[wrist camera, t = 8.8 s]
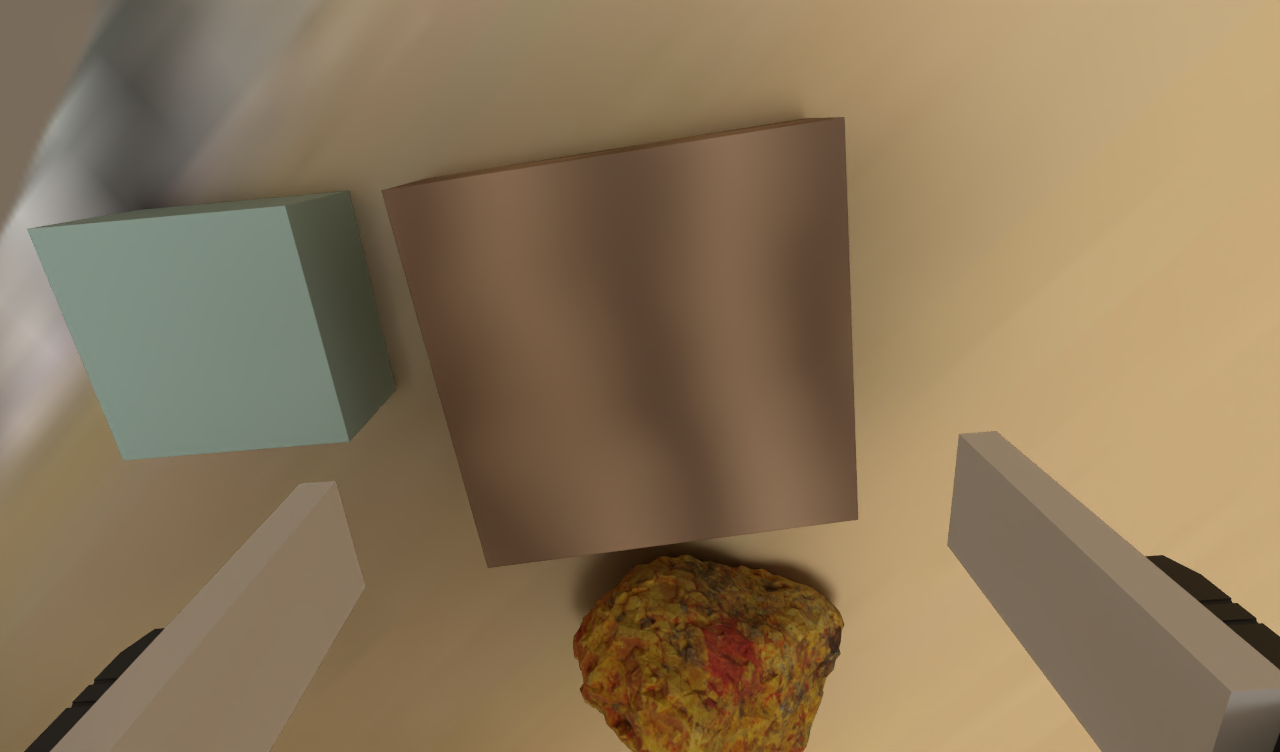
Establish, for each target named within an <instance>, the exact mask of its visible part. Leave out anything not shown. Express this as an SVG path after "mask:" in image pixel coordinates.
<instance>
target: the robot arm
mask: <svg viewBox="0 0 1280 752" xmlns="http://www.w3.org/2000/svg"><path fill="white" fill-rule="evenodd" d="M947 545H948V547H949V548H950V549H951V551H952V552H953V553H954V555H955V556H956V557H957V559H958V560H959V561H960V563H961V564H962V565H963V567H964V568H965V569H966V571H967V572H968V573H969V575H970V576H971V577H972V579H973V580H974V581H975V583H976V584H977V585H978V587H979V588H980V589H981V591H982V592H983V593H984V595H985V596H986V597H987V599H988V600H989V601H990V603H991V604H992V605H993V607H994V608H995V609H996V611H997V612H998V613H999V615H1000V616H1001V617H1002V619H1003V620H1004V621H1005V623H1006V624H1007V625H1008V627H1009V628H1010V629H1011V631H1012V632H1013V633H1014V635H1015V636H1016V637H1017V639H1018V640H1019V641H1020V643H1021V644H1022V645H1023V647H1024V648H1025V650H1026V651H1027V652H1028V654H1029V655H1030V656H1031V658H1032V659H1033V660H1034V662H1035V663H1036V664H1037V666H1038V667H1039V668H1040V670H1041V671H1042V672H1043V674H1044V675H1045V676H1046V678H1047V679H1048V680H1049V682H1050V683H1051V684H1052V686H1053V687H1054V688H1055V690H1056V691H1057V692H1058V694H1059V695H1060V696H1061V698H1062V699H1063V700H1064V702H1065V703H1066V704H1067V706H1068V707H1069V708H1070V710H1071V711H1072V712H1073V714H1074V715H1075V716H1076V718H1077V719H1078V720H1079V722H1080V723H1081V724H1082V726H1083V727H1084V728H1085V730H1086V731H1087V732H1088V734H1089V735H1090V736H1091V738H1092V739H1093V740H1094V742H1095V743H1096V744H1097V746H1098V747H1099V748H1100V750H1101V751H1102V752H1280V637H1279V636H1278V635H1277V634H1276V633H1274V632H1273V631H1272V630H1271V629H1269V628H1268V627H1267V626H1266V625H1264V624H1263V623H1261V624H1258V622H1257V621H1256V618H1255V617H1254V616H1253V615H1252V614H1250V613H1249V612H1248V611H1247V610H1245V609H1244V608H1243V607H1241V606H1240V605H1239V604H1238V603H1232V601H1231V598H1230V597H1229V596H1228V595H1226V594H1225V593H1224V592H1223V591H1221V590H1220V589H1219V588H1217V587H1216V586H1215V585H1214V584H1212V583H1211V582H1210V581H1209V580H1207V579H1206V578H1205V577H1204V576H1202V575H1201V574H1199V573H1197V572H1195V571H1193V570H1191V569H1189V568H1187V567H1185V566H1183V565H1181V564H1179V563H1177V562H1175V561H1173V560H1171V559H1169V558H1167V557H1165V556H1163V555H1159V556H1144V555H1143V554H1141V553H1140V552H1139V551H1138V550H1137V549H1136V548H1134V547H1133V546H1132V545H1131V544H1130V543H1128V542H1127V541H1126V540H1125V539H1124V538H1122V537H1121V536H1120V535H1119V534H1118V533H1117V532H1115V531H1114V530H1113V529H1112V528H1111V527H1109V526H1108V525H1107V524H1106V523H1105V522H1104V521H1102V520H1101V519H1100V518H1099V517H1098V516H1096V515H1095V514H1094V513H1093V512H1092V511H1090V510H1089V509H1088V508H1087V507H1086V506H1085V505H1083V504H1082V503H1081V502H1080V501H1079V500H1077V499H1076V498H1075V497H1074V496H1073V495H1071V494H1070V493H1069V492H1068V491H1067V490H1066V489H1064V488H1063V487H1062V486H1061V485H1060V484H1058V483H1057V482H1056V481H1055V480H1054V479H1052V478H1051V477H1050V476H1049V475H1048V474H1047V473H1045V472H1044V471H1043V470H1042V469H1041V468H1039V467H1038V466H1037V465H1036V464H1035V463H1033V462H1032V461H1031V460H1030V459H1029V458H1028V457H1026V456H1025V455H1024V454H1023V453H1022V452H1020V451H1019V450H1018V449H1017V448H1016V447H1014V446H1013V445H1012V444H1011V443H1010V442H1009V441H1007V440H1006V439H1005V438H1004V437H1003V436H1001V435H1000V434H999V433H998V432H997V431H991V432H978V433H965V434H959V440H958V449H957V459H956V468H955V478H954V487H953V497H952V506H951V516H950V525H949V534H948V544H947ZM364 588H365V584H364V580H363V577H362V573H361V570H360V566H359V563H358V559H357V555H356V552H355V548H354V545H353V541H352V538H351V534H350V530H349V527H348V523H347V520H346V516H345V513H344V509H343V506H342V502H341V498H340V495H339V491H338V488H337V484H336V481H326V482H312V483H300V484H299V485H298V486H297V487H296V488H295V489H294V490H293V491H292V492H291V494H290V495H289V496H288V497H287V498H286V499H285V500H284V501H283V502H282V503H281V504H280V505H279V506H278V507H277V509H276V510H275V511H274V512H273V513H272V514H271V515H270V516H269V517H268V518H267V519H266V520H265V521H264V522H263V524H262V525H261V526H260V527H259V528H258V529H257V530H256V531H255V532H254V533H253V534H252V535H251V536H250V538H249V539H248V540H247V541H246V542H245V543H244V544H243V545H242V546H241V547H240V548H239V549H238V550H237V551H236V553H235V554H234V555H233V556H232V557H231V558H230V559H229V560H228V561H227V562H226V563H225V564H224V565H223V566H222V568H221V569H220V570H219V571H218V572H217V573H216V574H215V575H214V576H213V577H212V578H211V579H210V580H209V582H208V583H207V584H206V585H205V586H204V587H203V588H202V589H201V590H200V591H199V592H198V593H197V594H196V595H195V597H194V598H193V599H192V600H191V601H190V602H189V603H188V604H187V605H186V606H185V607H184V608H183V609H182V611H181V612H180V613H179V614H178V615H177V616H176V617H175V618H174V619H173V620H172V621H171V622H170V623H169V624H168V626H167V627H166V628H161V629H154V630H153V631H151V632H150V633H148V634H147V635H145V636H144V637H142V638H141V639H140V640H138V641H137V642H135V643H134V644H132V645H131V646H129V647H128V648H127V649H125V650H124V651H122V652H121V653H120V654H119V655H118V656H117V657H116V658H115V659H114V660H113V661H112V662H111V663H110V664H109V665H108V666H107V667H106V668H105V669H104V670H103V671H102V672H101V673H100V674H99V675H98V676H97V677H96V678H95V679H94V684H93V685H89V686H88V687H87V688H86V689H85V690H84V691H83V692H82V693H81V694H80V695H79V696H78V697H77V698H76V699H75V700H74V701H73V702H72V703H73V704H72V707H71V708H66V709H65V710H64V711H63V712H62V713H61V714H60V715H59V716H58V717H57V718H56V719H55V720H54V722H53V723H52V724H51V725H50V726H49V727H48V728H47V729H46V730H45V731H44V732H43V733H42V734H41V735H40V736H39V737H38V738H37V739H36V740H35V741H34V742H33V743H32V744H31V745H30V746H29V747H28V748H27V749H26V750H25V751H24V752H270V750H271V749H272V747H273V745H274V743H275V742H276V740H277V738H278V736H279V735H280V733H281V731H282V730H283V728H284V726H285V724H286V723H287V721H288V719H289V718H290V716H291V714H292V712H293V711H294V709H295V707H296V705H297V704H298V702H299V700H300V699H301V697H302V695H303V693H304V692H305V690H306V688H307V687H308V685H309V683H310V681H311V680H312V678H313V676H314V674H315V673H316V671H317V669H318V668H319V666H320V664H321V662H322V661H323V659H324V657H325V656H326V654H327V652H328V650H329V649H330V647H331V645H332V644H333V642H334V640H335V638H336V637H337V635H338V633H339V631H340V630H341V628H342V626H343V625H344V623H345V621H346V619H347V618H348V616H349V614H350V613H351V611H352V609H353V607H354V606H355V604H356V602H357V600H358V599H359V597H360V595H361V594H362V592H363V590H364Z"/></svg>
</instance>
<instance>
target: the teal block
mask: <svg viewBox="0 0 1280 752" xmlns="http://www.w3.org/2000/svg"><path fill="white" fill-rule="evenodd" d="M27 230H28V232H29V235H30V237H31V240H32V242H33V244H34V247H35V249H36V252H37V254H38V256H39V259H40V261H41V264H42V266H43V268H44V271H45V273H46V276H47V278H48V280H49V283H50V285H51V288H52V290H53V292H54V295H55V297H56V300H57V302H58V304H59V307H60V309H61V312H62V314H63V316H64V319H65V321H66V324H67V326H68V328H69V331H70V333H71V336H72V338H73V340H74V343H75V345H76V348H77V350H78V353H79V355H80V357H81V360H82V362H83V365H84V367H85V369H86V372H87V374H88V377H89V379H90V381H91V384H92V386H93V389H94V391H95V393H96V396H97V398H98V401H99V403H100V405H101V408H102V410H103V413H104V415H105V417H106V420H107V422H108V425H109V427H110V429H111V432H112V434H113V437H114V439H115V441H116V444H117V446H118V449H119V451H120V453H121V456H122V458H123V460H134V459H146V458H158V457H170V456H182V455H195V454H207V453H219V452H231V451H243V450H255V449H267V448H280V447H292V446H304V445H316V444H328V443H340V442H350V441H351V439H352V438H353V437H354V436H355V435H356V434H357V433H358V432H359V430H360V429H361V428H362V427H363V426H364V425H365V424H366V423H367V422H368V420H369V419H370V418H371V417H372V416H373V415H374V414H375V413H376V411H377V410H378V409H379V408H380V407H381V406H382V405H383V404H384V402H385V401H386V400H387V399H388V398H389V397H390V396H391V395H392V394H393V392H394V391H395V390H396V388H395V383H394V379H393V375H392V371H391V366H390V362H389V358H388V354H387V349H386V345H385V341H384V337H383V333H382V328H381V324H380V320H379V316H378V311H377V307H376V303H375V299H374V295H373V290H372V286H371V282H370V278H369V273H368V269H367V265H366V261H365V256H364V252H363V248H362V244H361V240H360V235H359V231H358V227H357V223H356V218H355V214H354V210H353V206H352V202H351V197H350V193H349V191H342V192H331V193H320V194H309V195H297V196H286V197H275V198H264V199H253V200H242V201H231V202H220V203H209V204H198V205H187V206H176V207H165V208H154V209H143V210H135V211H129V212H123V213H117V214H111V215H106V216H100V217H94V218H88V219H82V220H77V221H71V222H65V223H59V224H53V225H47V226H42V227H36V228H30V229H27Z"/></svg>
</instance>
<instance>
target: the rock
mask: <svg viewBox="0 0 1280 752" xmlns="http://www.w3.org/2000/svg"><path fill="white" fill-rule="evenodd" d="M843 626H844V622H843V619H842V616H841V614H840V612H839V611H838V609H837V608H836V607H835V606H834V605H833V603H832V602H831V601H830V600H828V599H827V598H825V597H824V596H823V595H821V594H820V593H818V592H817V591H816V590H814V589H813V588H811V587H809V586H807V585H804V584H800V583H795V582H793V581H791V580H788V579H786V578H784V577H781V576H779V575H773V574H771V573H769V572H768V571H766V570H764V569H757V570H753V569H750V568H747V567H745V566H743V565H740V566H738V567H735V568H733V567H730V566H727V565H723V564H718V563H715V562H712V561H706V562H702V561H700V560H698V559H696V558H694V557H692V556H689V555H682V556H678V557H675V558H670V557H667V556H661V557H658V558H657V559H656V560H654V561H652V562H651V563H649V564H640V565H636V566H635V567H632V569H631V572H630V573H628V574H626V575H625V577H624V578H623V579H622V581H621V582H620V583H619V584H618V585H616V586H615V587H614V588H613V589H612V590H610V591H608V592H606V593H605V594H604V597H603V598H601V599H599V600H598V601H596V607H595V608H593V609H590V613H588V614H587V615H586V616H584V617H583V622H582V623H581V626H580V628H579V630H578V631H577V633H576V634H575V636H574V640H573V649H574V657H575V658H576V659H578V661H579V667H580V670H581V671H582V675H583V682H584V684H583V685H582V686H581V688H580V691H581V693H582V696H583V698H584V701H585V703H588V704H590V705H591V706H592V707H593V708H596V709H597V710H598V711H599V712H600V713H602V714H604V717H605V720H606V723H607V725H608V726H609V727H610V728H611V729H612V730H613V731H614V732H615V733H616V735H617V736H618V737H619V739H620V740H621V742H623V743H624V744H625V745H626V746H627V747H628V748H629V749H630V750H632V751H633V752H803V751H804V749H805V748H806V746H807V743H808V740H809V734H810V729H811V726H812V723H813V720H814V718H815V715H816V713H817V710H818V708H819V705H820V703H821V700H822V696H823V688H824V684H825V680H826V677H827V676H828V675H829V674H830V673H831V672H832V671H833V669H834V665H835V660H836V659H837V657H838V656H839V655H840V650H839V646H840V642H841V631H842V629H843Z"/></svg>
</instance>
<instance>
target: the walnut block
mask: <svg viewBox="0 0 1280 752" xmlns="http://www.w3.org/2000/svg"><path fill="white" fill-rule="evenodd" d="M382 194H383V198H384V201H385V205H386V208H387V212H388V215H389V219H390V222H391V226H392V230H393V233H394V237H395V240H396V244H397V247H398V251H399V254H400V258H401V261H402V265H403V269H404V272H405V276H406V279H407V283H408V286H409V290H410V293H411V297H412V300H413V304H414V308H415V311H416V315H417V318H418V322H419V325H420V329H421V332H422V336H423V339H424V343H425V347H426V350H427V354H428V357H429V361H430V364H431V368H432V371H433V375H434V378H435V382H436V385H437V389H438V393H439V396H440V400H441V403H442V407H443V410H444V414H445V417H446V421H447V424H448V428H449V432H450V435H451V439H452V442H453V446H454V449H455V453H456V456H457V460H458V463H459V467H460V471H461V474H462V478H463V481H464V485H465V488H466V492H467V495H468V499H469V502H470V506H471V510H472V513H473V517H474V520H475V524H476V527H477V531H478V534H479V538H480V541H481V545H482V549H483V552H484V556H485V559H486V563H487V566H488V568H491V567H499V566H507V565H514V564H522V563H530V562H537V561H545V560H553V559H560V558H568V557H576V556H583V555H591V554H599V553H606V552H614V551H621V550H629V549H637V548H644V547H652V546H660V545H667V544H675V543H683V542H690V541H698V540H706V539H713V538H721V537H729V536H736V535H744V534H752V533H759V532H767V531H774V530H782V529H790V528H797V527H805V526H813V525H820V524H828V523H836V522H843V521H851V520H858V501H857V472H856V442H855V413H854V384H853V355H852V325H851V296H850V267H849V238H848V208H847V179H846V150H845V120H844V117H838V118H805V119H799V120H793V121H786V122H780V123H774V124H768V125H761V126H755V127H749V128H742V129H736V130H730V131H723V132H717V133H711V134H705V135H698V136H692V137H686V138H679V139H673V140H667V141H660V142H654V143H648V144H642V145H635V146H629V147H623V148H616V149H610V150H604V151H597V152H591V153H585V154H579V155H572V156H566V157H560V158H553V159H547V160H541V161H534V162H528V163H522V164H516V165H509V166H503V167H497V168H490V169H484V170H478V171H471V172H465V173H459V174H453V175H446V176H440V177H434V178H427V179H423V180H420V181H416V182H412V183H408V184H404V185H401V186H397V187H393V188H389V189H386V190H382Z"/></svg>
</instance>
